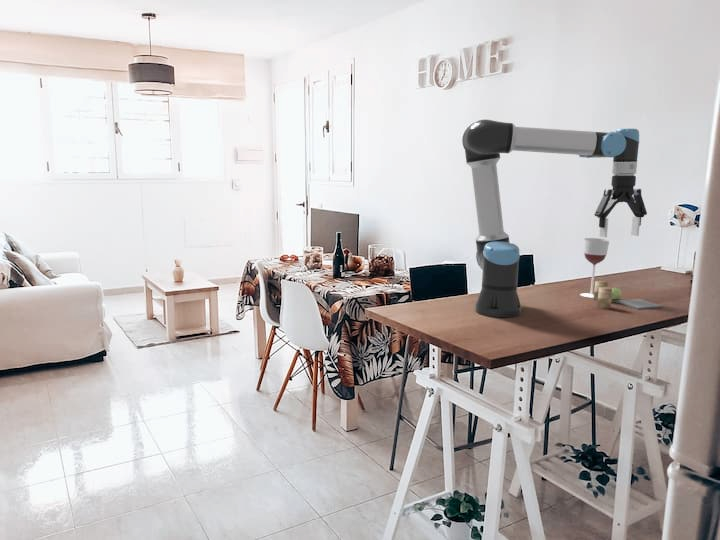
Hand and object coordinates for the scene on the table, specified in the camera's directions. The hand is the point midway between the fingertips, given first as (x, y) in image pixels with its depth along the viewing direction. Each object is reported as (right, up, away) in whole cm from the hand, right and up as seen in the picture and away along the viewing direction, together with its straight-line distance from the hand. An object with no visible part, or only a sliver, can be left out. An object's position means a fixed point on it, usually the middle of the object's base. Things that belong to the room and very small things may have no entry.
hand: (619, 236), depth 198 cm
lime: (+6, -23, +16) cm, 29 cm away
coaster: (+11, -25, +9) cm, 28 cm away
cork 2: (-4, -25, +4) cm, 26 cm away
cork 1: (0, -23, +15) cm, 28 cm away
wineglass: (-1, -22, +23) cm, 32 cm away
